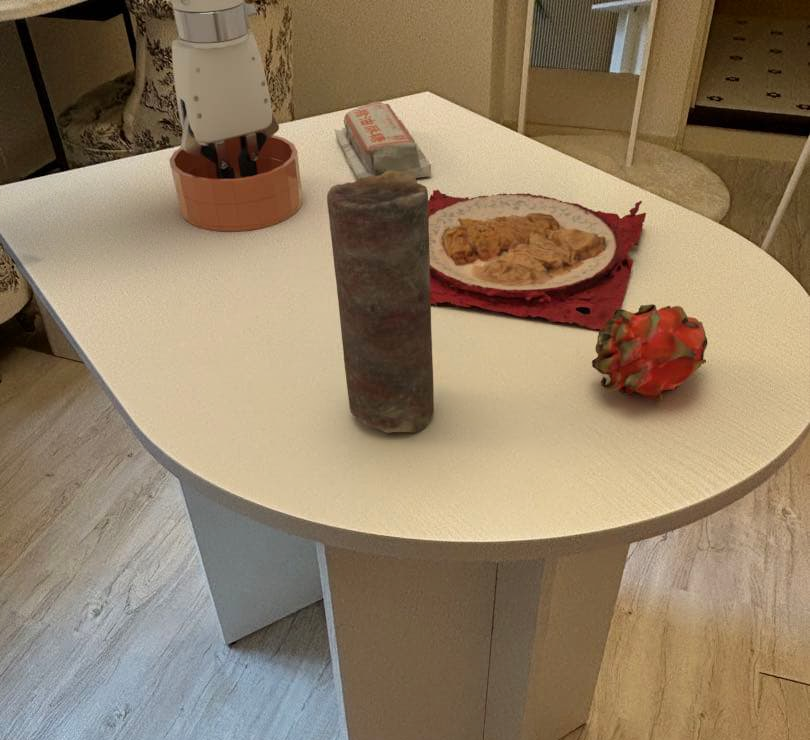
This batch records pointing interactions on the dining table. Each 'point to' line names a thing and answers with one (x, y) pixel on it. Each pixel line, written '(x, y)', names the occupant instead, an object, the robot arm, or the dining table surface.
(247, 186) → the bowl
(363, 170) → the packaged product
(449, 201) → the plate with food
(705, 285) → the dining table surface
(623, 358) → the dragon fruit
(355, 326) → the candle
